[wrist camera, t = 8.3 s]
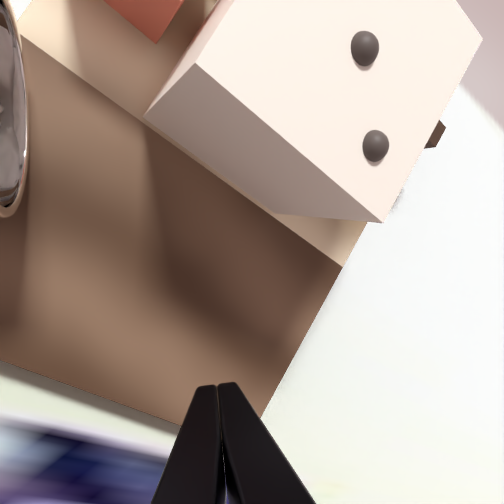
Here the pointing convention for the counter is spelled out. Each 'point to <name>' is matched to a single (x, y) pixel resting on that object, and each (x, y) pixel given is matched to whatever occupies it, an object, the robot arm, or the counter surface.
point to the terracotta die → (147, 14)
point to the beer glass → (12, 113)
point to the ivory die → (316, 98)
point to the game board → (145, 232)
